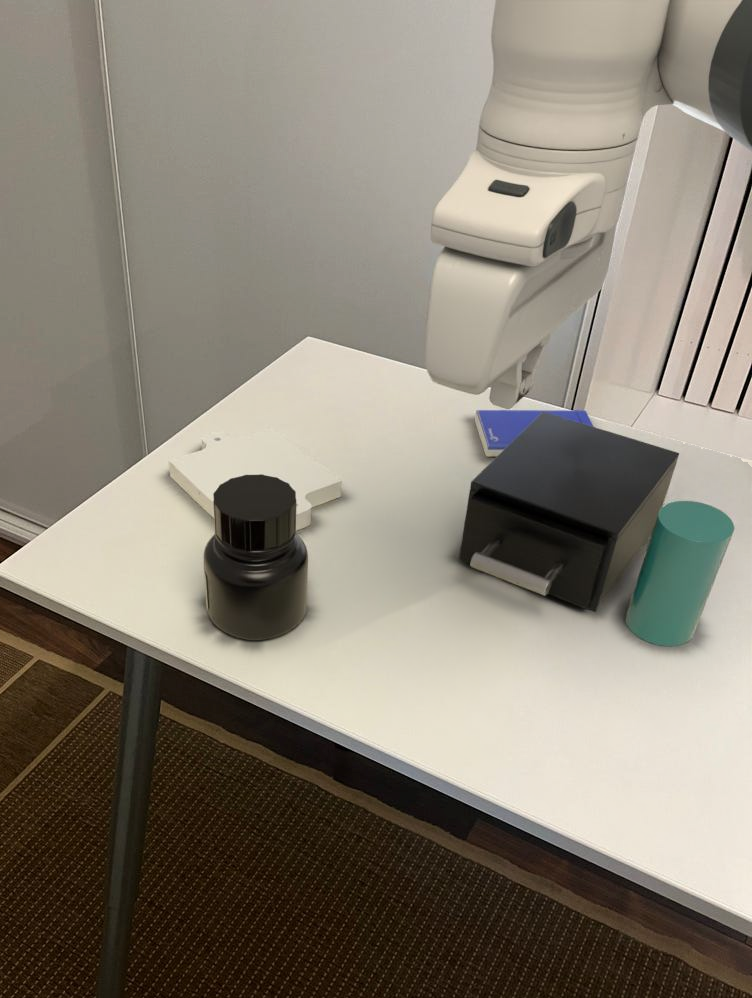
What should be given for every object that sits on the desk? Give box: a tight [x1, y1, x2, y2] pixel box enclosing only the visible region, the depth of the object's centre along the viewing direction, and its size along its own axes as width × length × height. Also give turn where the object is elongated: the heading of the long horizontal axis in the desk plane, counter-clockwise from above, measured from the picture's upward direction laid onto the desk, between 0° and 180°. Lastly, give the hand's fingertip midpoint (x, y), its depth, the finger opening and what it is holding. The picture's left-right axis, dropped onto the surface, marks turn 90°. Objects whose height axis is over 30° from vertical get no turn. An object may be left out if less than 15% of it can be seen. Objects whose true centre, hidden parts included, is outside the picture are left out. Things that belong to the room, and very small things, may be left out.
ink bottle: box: [203, 474, 309, 641], centre depth 83 cm, size 10×9×12 cm
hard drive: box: [474, 409, 594, 458], centre depth 108 cm, size 2×8×12 cm
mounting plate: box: [168, 426, 343, 532], centre depth 101 cm, size 18×13×2 cm
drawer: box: [459, 493, 609, 609], centre depth 89 cm, size 19×12×7 cm, turn 145°
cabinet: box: [458, 412, 680, 613], centre depth 91 cm, size 16×14×9 cm
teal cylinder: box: [625, 500, 735, 647], centre depth 82 cm, size 6×6×11 cm
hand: (509, 398), depth 66 cm, fingers closed
